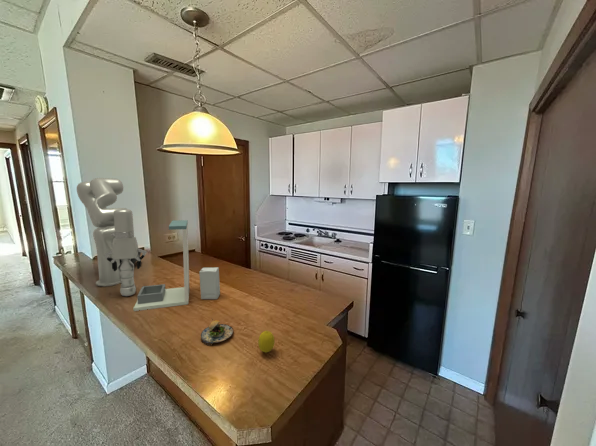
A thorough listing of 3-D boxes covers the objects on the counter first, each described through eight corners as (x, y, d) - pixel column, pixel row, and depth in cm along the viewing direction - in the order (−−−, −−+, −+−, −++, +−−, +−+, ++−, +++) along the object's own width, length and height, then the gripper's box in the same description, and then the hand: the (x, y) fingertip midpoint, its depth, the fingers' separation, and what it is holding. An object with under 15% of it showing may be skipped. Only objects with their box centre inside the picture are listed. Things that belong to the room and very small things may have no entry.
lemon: (258, 347, 88) (259, 326, 87) (274, 347, 89) (274, 326, 88) (257, 358, 83) (257, 335, 82) (274, 357, 83) (274, 335, 82)
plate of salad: (210, 351, 86) (209, 331, 85) (194, 336, 94) (194, 317, 93) (239, 336, 94) (239, 318, 93) (223, 324, 102) (223, 307, 101)
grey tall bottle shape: (128, 298, 121) (126, 258, 118) (116, 296, 122) (114, 257, 119) (139, 293, 127) (137, 255, 124) (128, 291, 128) (125, 254, 125)
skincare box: (220, 294, 129) (220, 267, 127) (216, 299, 123) (216, 271, 121) (203, 294, 129) (203, 266, 126) (199, 299, 123) (199, 270, 120)
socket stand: (141, 294, 126) (137, 220, 120) (189, 289, 134) (187, 220, 128) (133, 311, 109) (128, 227, 104) (188, 304, 117) (186, 225, 112)
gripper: (99, 237, 113) (103, 273, 115) (143, 235, 120) (146, 269, 122) (105, 234, 120) (108, 268, 122) (146, 232, 126) (148, 265, 129)
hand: (127, 269), depth 122 cm, fingers open, 9 cm apart
